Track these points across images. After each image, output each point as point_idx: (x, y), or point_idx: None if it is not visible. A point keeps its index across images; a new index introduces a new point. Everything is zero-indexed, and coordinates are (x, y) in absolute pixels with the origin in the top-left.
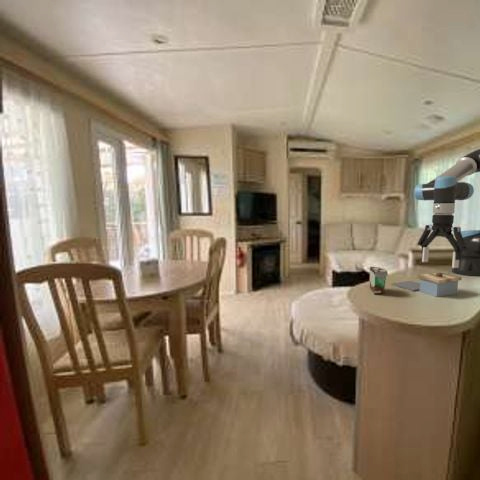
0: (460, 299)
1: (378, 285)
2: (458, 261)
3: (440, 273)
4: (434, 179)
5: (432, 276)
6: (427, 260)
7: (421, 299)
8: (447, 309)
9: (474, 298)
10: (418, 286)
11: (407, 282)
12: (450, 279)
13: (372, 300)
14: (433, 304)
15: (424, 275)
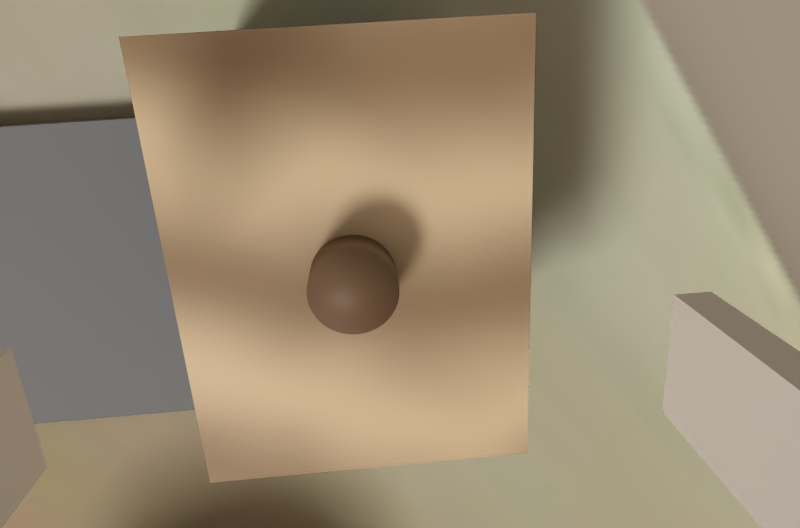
0: (603, 203)
1: None
2: (793, 366)
3: (365, 282)
4: None
5: (340, 375)
6: (2, 384)
7: (465, 497)
8: (706, 499)
9: (647, 33)
10: (129, 259)
11: None
12: (527, 257)
13: None
14: (590, 504)
15: (259, 425)
